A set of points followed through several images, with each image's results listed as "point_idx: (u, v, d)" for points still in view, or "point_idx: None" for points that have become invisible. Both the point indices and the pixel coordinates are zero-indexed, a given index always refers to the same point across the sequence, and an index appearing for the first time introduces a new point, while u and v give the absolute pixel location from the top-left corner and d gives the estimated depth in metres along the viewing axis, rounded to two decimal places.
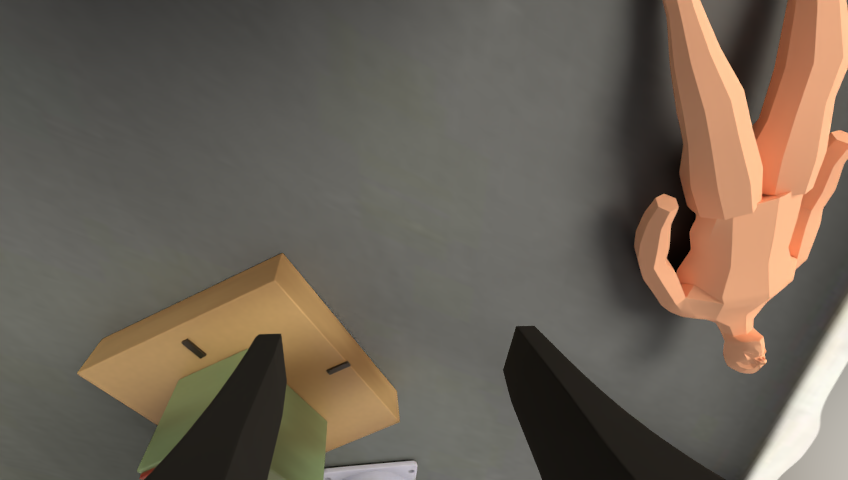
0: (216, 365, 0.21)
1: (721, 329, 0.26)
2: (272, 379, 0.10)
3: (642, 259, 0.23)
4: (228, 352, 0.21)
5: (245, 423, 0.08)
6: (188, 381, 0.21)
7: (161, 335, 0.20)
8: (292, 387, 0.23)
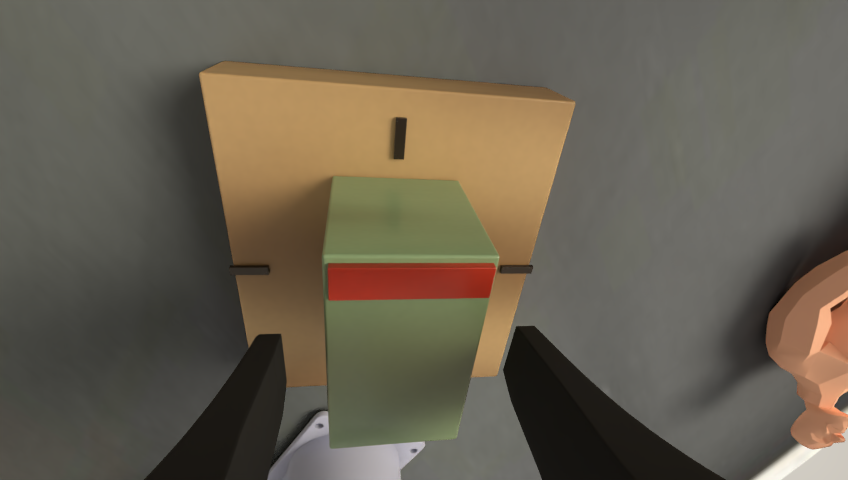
0: (407, 181, 0.14)
1: (807, 397, 0.26)
2: (272, 379, 0.10)
3: (810, 296, 0.22)
4: (430, 172, 0.14)
5: (245, 423, 0.08)
6: (361, 183, 0.13)
7: (379, 90, 0.12)
8: None
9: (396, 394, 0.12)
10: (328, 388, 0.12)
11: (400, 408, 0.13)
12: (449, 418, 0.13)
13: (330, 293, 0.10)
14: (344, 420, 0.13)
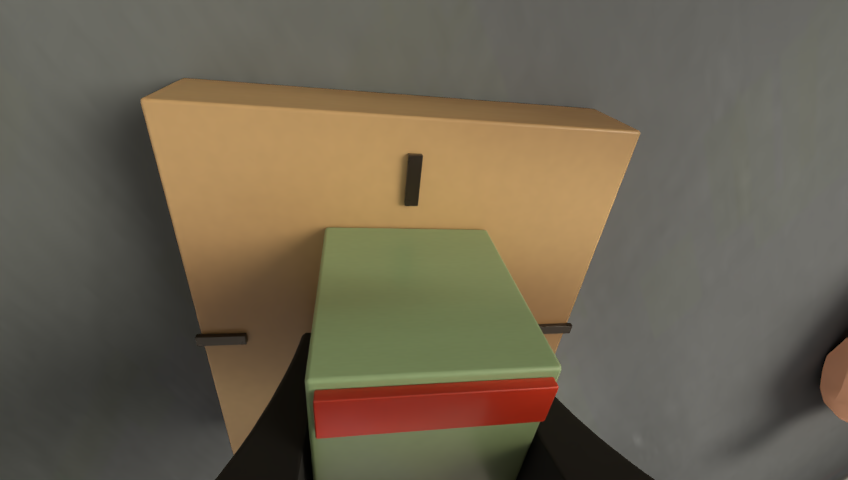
0: (422, 232, 0.11)
1: None
2: None
3: None
4: (450, 219, 0.11)
5: None
6: (362, 238, 0.10)
7: (387, 119, 0.09)
8: None
9: None
10: None
11: None
12: None
13: (318, 431, 0.07)
14: None
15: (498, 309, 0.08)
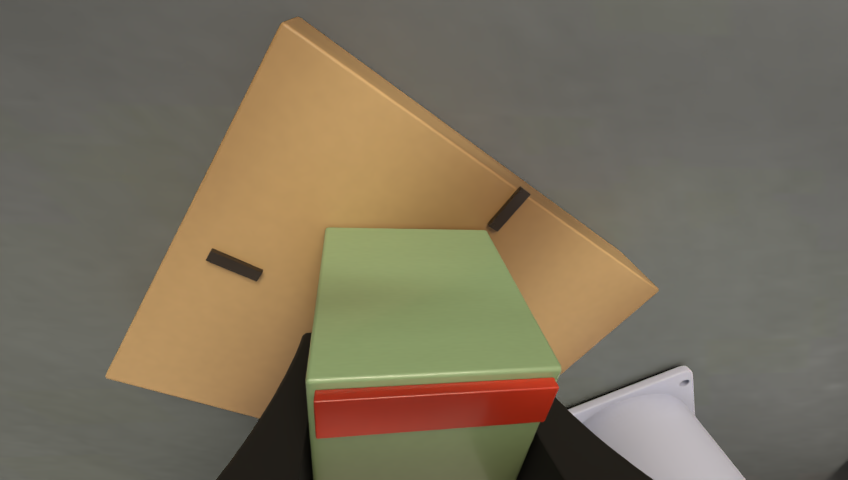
0: (422, 233, 0.11)
1: None
2: None
3: None
4: (296, 251, 0.11)
5: None
6: (362, 238, 0.10)
7: (168, 259, 0.10)
8: None
9: None
10: None
11: None
12: None
13: (318, 431, 0.07)
14: None
15: (498, 309, 0.08)
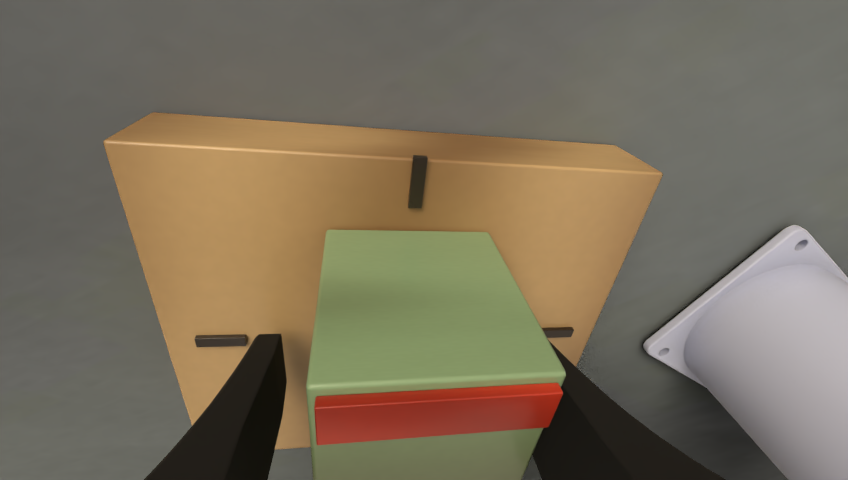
0: (424, 235, 0.11)
1: None
2: (272, 379, 0.10)
3: None
4: (259, 308, 0.11)
5: (245, 423, 0.08)
6: (363, 240, 0.10)
7: (173, 357, 0.12)
8: None
9: None
10: None
11: None
12: None
13: (319, 437, 0.06)
14: None
15: (501, 313, 0.08)
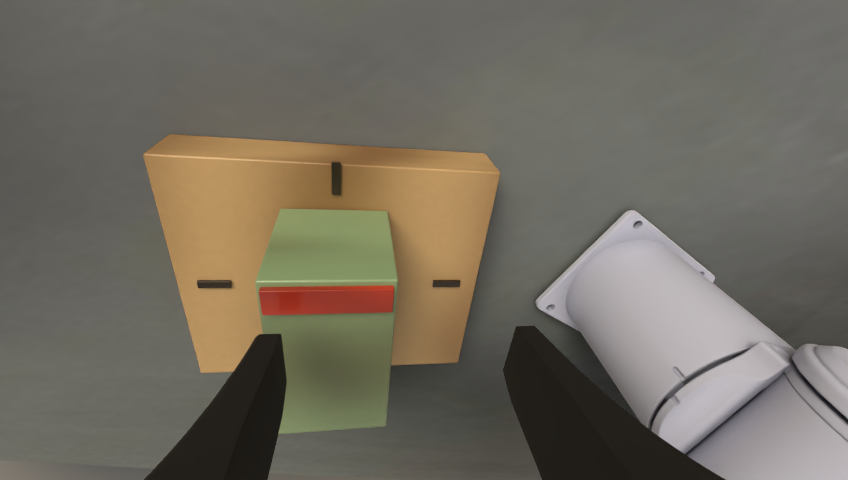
0: (343, 212, 0.17)
1: None
2: (272, 379, 0.10)
3: None
4: (239, 262, 0.17)
5: (245, 423, 0.08)
6: (302, 215, 0.16)
7: (182, 295, 0.18)
8: None
9: (328, 389, 0.15)
10: None
11: (333, 400, 0.16)
12: (377, 408, 0.16)
13: (262, 310, 0.12)
14: (287, 410, 0.16)
15: (374, 253, 0.14)
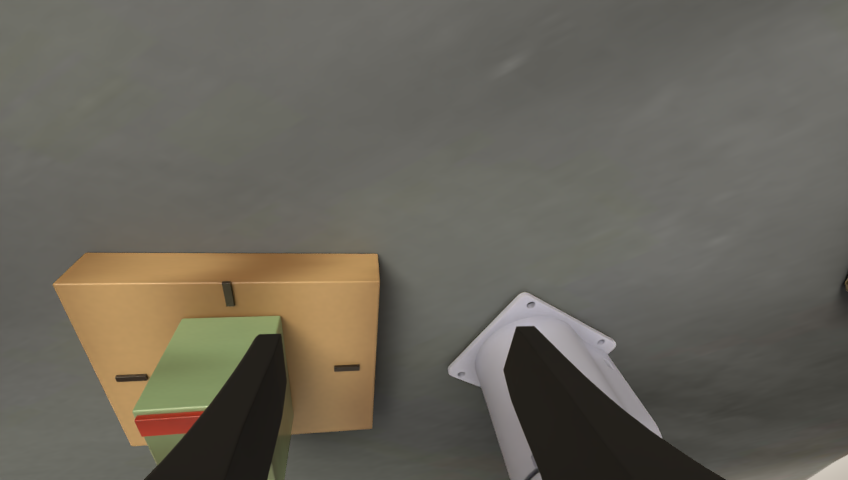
0: (238, 320, 0.19)
1: None
2: (272, 379, 0.10)
3: None
4: (151, 359, 0.20)
5: (245, 423, 0.08)
6: (199, 326, 0.18)
7: (104, 387, 0.20)
8: None
9: None
10: None
11: None
12: None
13: (140, 433, 0.15)
14: None
15: None
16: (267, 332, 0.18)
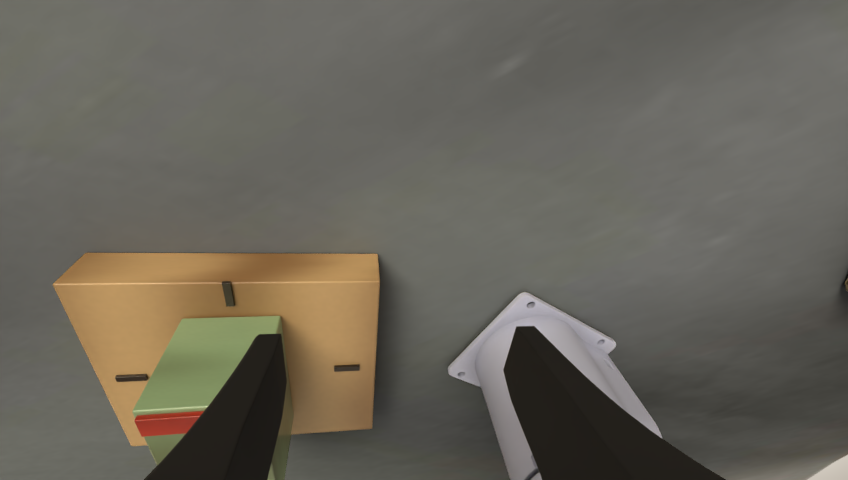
0: (238, 320, 0.19)
1: None
2: (272, 379, 0.10)
3: None
4: (151, 359, 0.20)
5: (245, 423, 0.08)
6: (199, 326, 0.18)
7: (104, 387, 0.20)
8: None
9: None
10: None
11: None
12: None
13: (140, 433, 0.15)
14: None
15: None
16: (267, 332, 0.18)
